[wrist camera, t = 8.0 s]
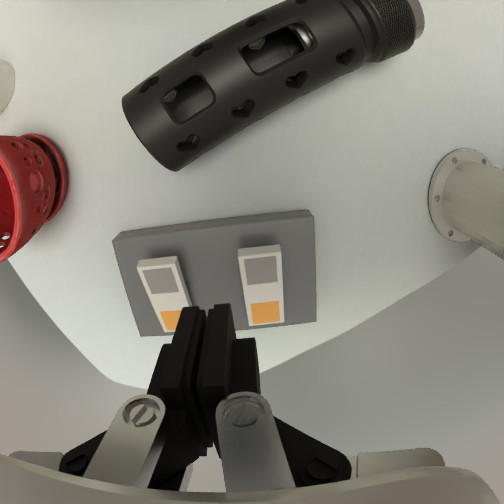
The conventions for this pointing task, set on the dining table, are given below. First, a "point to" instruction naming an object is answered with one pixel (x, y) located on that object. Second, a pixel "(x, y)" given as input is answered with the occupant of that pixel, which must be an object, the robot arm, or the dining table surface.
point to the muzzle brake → (262, 70)
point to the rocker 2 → (262, 284)
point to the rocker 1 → (165, 289)
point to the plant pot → (28, 188)
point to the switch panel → (223, 264)
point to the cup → (6, 84)
